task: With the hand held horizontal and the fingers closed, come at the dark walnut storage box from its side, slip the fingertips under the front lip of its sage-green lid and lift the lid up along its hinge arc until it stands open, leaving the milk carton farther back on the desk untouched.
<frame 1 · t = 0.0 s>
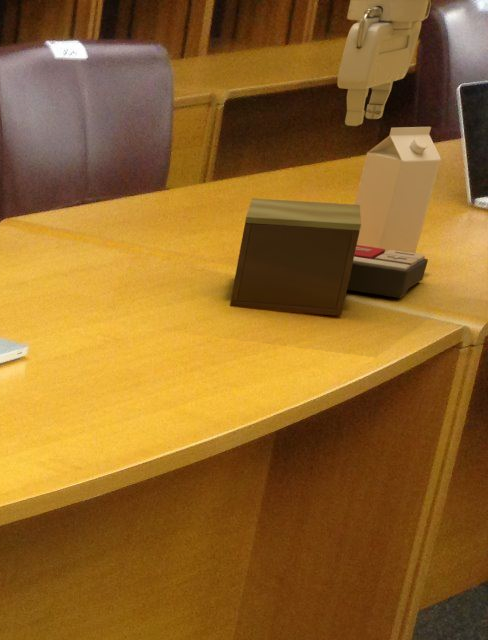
hand: (363, 121, 197), 23 cm above the table, tool pointing down, fingers open, 8 cm apart
milk carton: (376, 260, 232), on the table
chest: (286, 300, 206), on the table
lid: (303, 213, 202), point 11 cm above the table, hinge at 0.0°
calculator: (369, 284, 215), on the table
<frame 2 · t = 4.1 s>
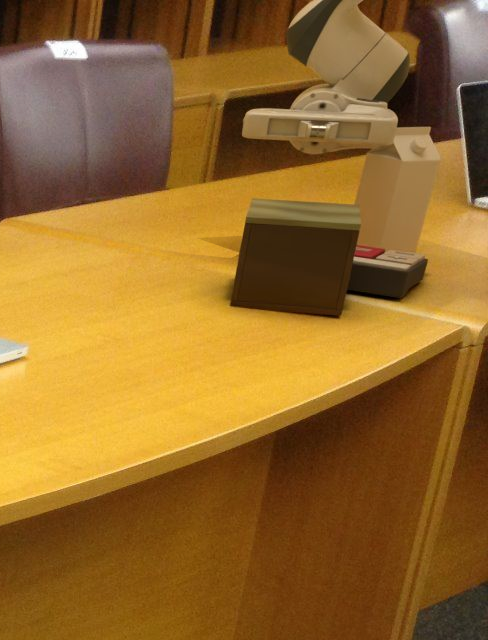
hand: (317, 132, 215), 19 cm above the table, tool horizontal, fingers closed
nothing on the table moved.
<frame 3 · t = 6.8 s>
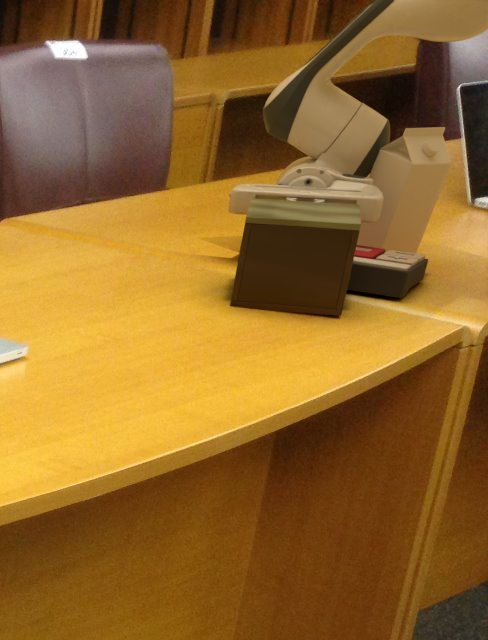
hand: (303, 210, 215), 9 cm above the table, tool horizontal, fingers closed
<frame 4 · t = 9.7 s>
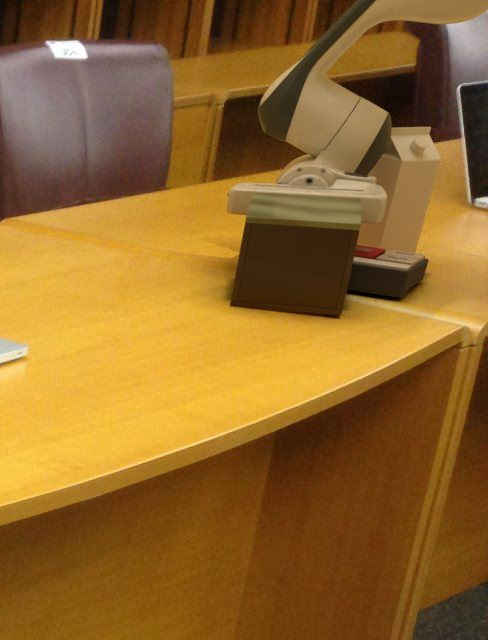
hand: (304, 211, 207), 11 cm above the table, tool horizontal, fingers closed, pressing on lid
lid: (304, 210, 202), point 12 cm above the table, hinge at 2.8°, touching gripper
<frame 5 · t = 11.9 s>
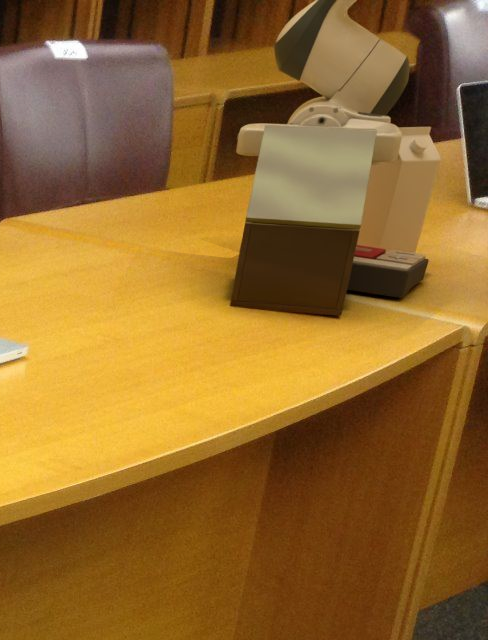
hand: (316, 149, 202), 19 cm above the table, tool horizontal, fingers closed, pressing on lid
lid: (311, 176, 199), point 16 cm above the table, hinge at 38.4°, touching gripper
everything else where it was.
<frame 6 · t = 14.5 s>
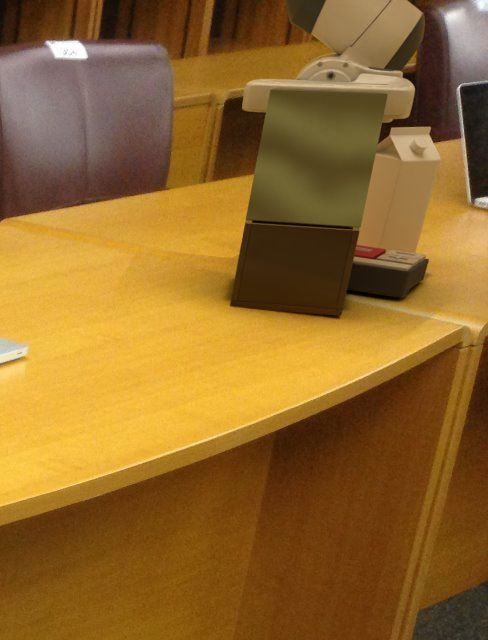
hand: (326, 103, 193), 25 cm above the table, tool horizontal, fingers closed, pressing on lid
lid: (315, 158, 194), point 19 cm above the table, hinge at 74.0°, touching gripper
everything else where it was.
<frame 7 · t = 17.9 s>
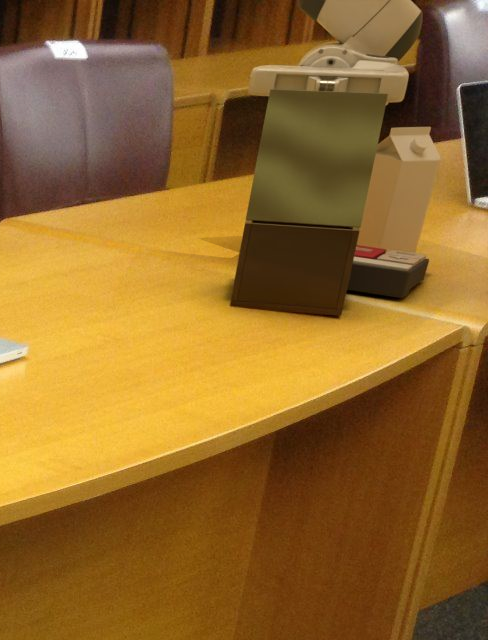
hand: (326, 88, 209), 26 cm above the table, tool horizontal, fingers closed
lid: (315, 158, 194), point 19 cm above the table, hinge at 74.0°
everything else where it was.
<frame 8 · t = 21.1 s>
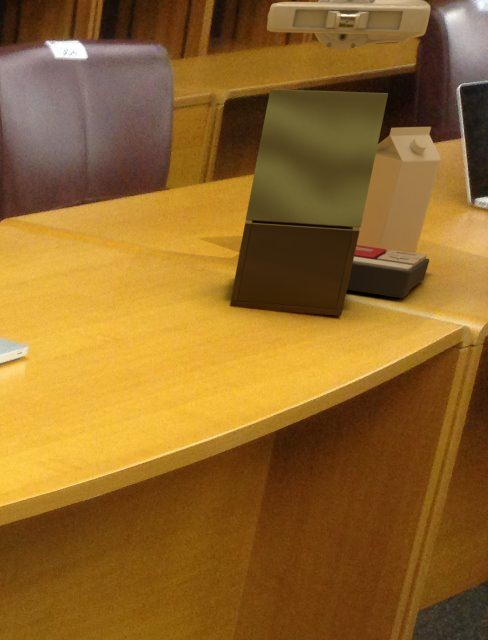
hand: (347, 21, 205), 34 cm above the table, tool horizontal, fingers closed
nothing on the table moved.
at the end: lid at +74° (first picture: +0°); milk carton moved 0.1 cm from its start; milk carton tilted 2° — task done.
